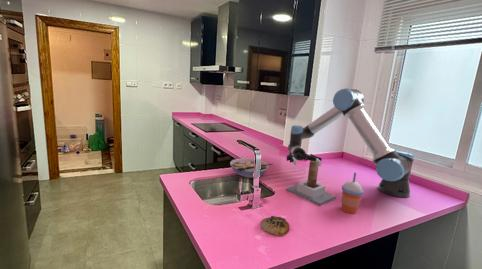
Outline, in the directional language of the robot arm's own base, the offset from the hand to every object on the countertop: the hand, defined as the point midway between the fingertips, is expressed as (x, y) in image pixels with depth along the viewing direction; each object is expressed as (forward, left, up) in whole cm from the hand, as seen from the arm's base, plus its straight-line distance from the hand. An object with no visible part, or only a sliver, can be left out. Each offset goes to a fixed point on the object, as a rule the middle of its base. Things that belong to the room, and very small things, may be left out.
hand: (307, 163), depth 137 cm
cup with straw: (-28, +6, -13) cm, 32 cm away
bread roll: (-19, +46, -13) cm, 51 cm away
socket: (-8, +7, -13) cm, 17 cm away
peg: (-8, +7, -12) cm, 16 cm away
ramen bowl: (+28, +17, -13) cm, 35 cm away
